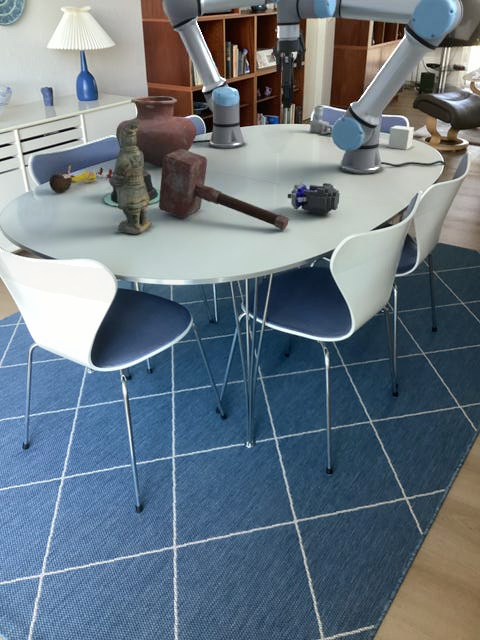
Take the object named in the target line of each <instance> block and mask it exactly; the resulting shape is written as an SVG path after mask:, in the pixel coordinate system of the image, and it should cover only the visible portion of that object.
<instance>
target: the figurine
mask: <svg viewBox="0 0 480 640" xmlns="http://www.w3.org/2000/svg"><path fill="white" fill-rule="evenodd" d="M71 169H72V167H71V164H70V165H69V166H68V169H67V174H66V173H63V174H61V173H59V172H56V173H53V174H52V175H51V176H50V177H49V181H48V182H49V187H50V189H51V190H52V191H54V192H56V193H64V192H67V191H68V190H69V189H70V188H71V186H72V184H85V183H86V182H92V183H93V182H96V180H95V179H98V178H99V179H110V178H111V176H112V173H113V170H112V168H110V169H108V173H107V174H103V172H104V168H103V167H102V166H101V167H100V168H99V171H98V172H96V171H95V170H94V169H91V170H89V171H85V172H83V173H80V174H76V175H73V174H72V175H71Z"/></svg>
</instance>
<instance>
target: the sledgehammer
mask: <svg viewBox="0 0 480 640" xmlns="http://www.w3.org/2000/svg"><path fill="white" fill-rule="evenodd" d="M207 164H208V159H207V158H206V157H205V156H203V155H200V154H197V153H195V152H193V151H189V150H188V151H187V150H184V149H179V150H177V151H174V152H172V153H170V154H167V155H165V156H164V158H163V165H161V166H162V167H161V176H160V187H159V190H160V198H159V200H158V208H159V210H160V211H162V212H165V213H168V214H170V215H173V216H174V217H177V218H180V219H182V220H185V219H187V218H188V217H190V216H192V215H193V214H195V213H197V212H198V211H199V210H200V209H201V207H202V201H203V200H204V201H207V202H209V203H213V204H215V205H220V206H223V207H225V208H228V209H231V210H233V211H236V212H239V213H241V214H243V215H245V216H248V217H252V218H255V219H257V220H260V221H262V222H264V223H267V224H270V225H273V226H274V228H276V229H280V230H282V231H285V230H286V228H287V227H288V224H289V221H290V218H289V217H288V216H286V215H283V214H281V213H279V214H277V213H275V212H273V211H269V210H267V209H265V208H262V207H259V206H256V205H254V204H251V203H248V202H246V201H244V200H242V199H238V198H236V197H233V196H231V195H228V194H225V193H223V192H222V191H220V190H218V189H215V188H214V187H211V186H208V185H205V181H206V175H207Z"/></svg>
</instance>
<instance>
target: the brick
mask: <svg viewBox="0 0 480 640" xmlns="http://www.w3.org/2000/svg"><path fill="white" fill-rule="evenodd" d="M414 131H415V127H414V126H413V127H412V126H406V125H405V126H404V125H393V126H391V127H390V129H389V137H388V148H390V149H399V150H406V151H407V150H408V149H411V148H412V146H413V140H414V139H413V138H414V133H415V132H414Z"/></svg>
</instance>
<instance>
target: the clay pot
mask: <svg viewBox="0 0 480 640" xmlns="http://www.w3.org/2000/svg"><path fill="white" fill-rule="evenodd" d="M130 102H131V103H134V105H135V107H136V112H137V113H136V116H135V117H134V118H130V119H128V120H127V119H126V120H122V121H121V122H120V123H119V124H118V125H117V127H116V133H115V137H116V139H117V142H119V140H118V138H119V133H120V130H121V129H123V128H124V127H125V126H126V125H127V124H128V123H131V122H133V121H137V122H138V123H139V127H138V130H137V131H136V138H137V143H136V146H137V147H138V149H139V150H141V151H142V153H143V156H144V163H147V164H150V165H155V166H163V158H164V156H165V155H167V154H170V153H172V152H174V151H177V150H179V149H184V150H187V151H189V150H190V149H191V147H192V146H193V144H194V143H193V141H195V140H196V136H197V127H196V125H195V124H194V122H193V121H192V120H191V119H190V118H188V117H184V116H174V108H175V105H176V103H177V102H178V100H177V99H176V98H174V97H173V96H165V95H161V96H160V95H159V96H142V97H140V96H139V97H134V98H131V101H130Z"/></svg>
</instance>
